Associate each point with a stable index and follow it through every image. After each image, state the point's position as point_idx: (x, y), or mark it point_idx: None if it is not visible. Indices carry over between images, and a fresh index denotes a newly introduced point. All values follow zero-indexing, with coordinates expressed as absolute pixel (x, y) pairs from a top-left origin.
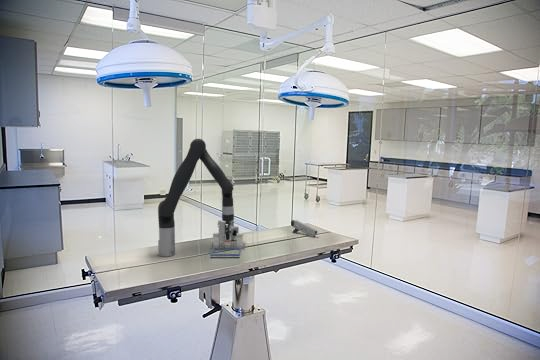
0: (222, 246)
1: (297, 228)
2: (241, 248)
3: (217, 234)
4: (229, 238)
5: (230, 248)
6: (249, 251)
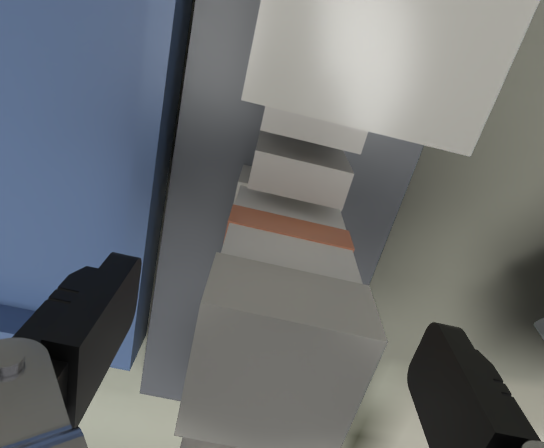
0: (260, 132)
1: None
2: (181, 367)
3: (256, 41)
4: (125, 334)
5: (125, 242)
6: (151, 410)
